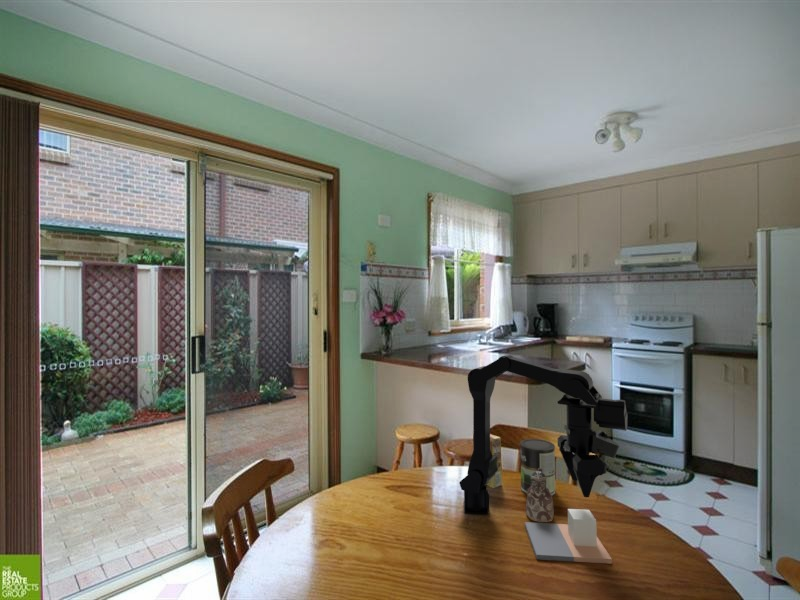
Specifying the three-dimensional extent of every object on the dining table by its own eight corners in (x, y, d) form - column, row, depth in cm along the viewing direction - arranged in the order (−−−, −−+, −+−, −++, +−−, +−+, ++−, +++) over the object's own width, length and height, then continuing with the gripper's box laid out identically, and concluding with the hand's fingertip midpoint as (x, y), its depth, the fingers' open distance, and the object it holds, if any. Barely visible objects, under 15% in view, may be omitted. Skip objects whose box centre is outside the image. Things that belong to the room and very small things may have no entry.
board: (536, 559, 91) (536, 554, 91) (524, 526, 105) (524, 522, 105) (611, 563, 89) (611, 559, 89) (589, 529, 103) (589, 525, 103)
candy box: (502, 485, 129) (501, 437, 129) (493, 489, 127) (492, 439, 127) (482, 476, 136) (481, 430, 137) (473, 479, 134) (472, 432, 134)
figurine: (522, 517, 109) (521, 472, 110) (530, 506, 115) (529, 463, 115) (549, 525, 105) (548, 478, 106) (556, 513, 111) (555, 469, 111)
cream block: (574, 545, 94) (573, 519, 95) (568, 533, 99) (567, 508, 100) (596, 546, 94) (596, 520, 94) (589, 534, 99) (589, 509, 99)
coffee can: (522, 495, 122) (521, 448, 122) (519, 481, 132) (518, 437, 132) (558, 498, 120) (557, 450, 120) (552, 484, 130) (552, 439, 130)
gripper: (630, 437, 89) (632, 509, 89) (600, 414, 108) (601, 474, 107) (577, 435, 91) (578, 506, 90) (556, 413, 109) (557, 472, 109)
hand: (580, 488), depth 99 cm, fingers open, 9 cm apart
